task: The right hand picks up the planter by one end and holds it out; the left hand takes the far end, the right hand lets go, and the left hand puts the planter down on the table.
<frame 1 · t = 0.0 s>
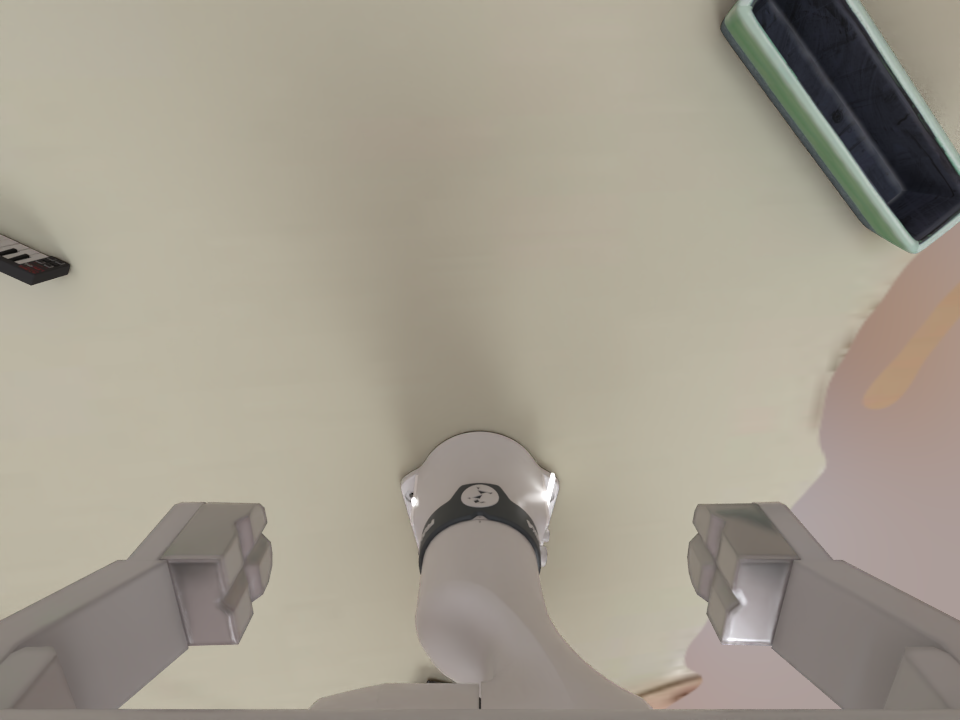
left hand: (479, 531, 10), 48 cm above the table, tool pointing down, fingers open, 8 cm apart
planter: (818, 113, 52), on the table
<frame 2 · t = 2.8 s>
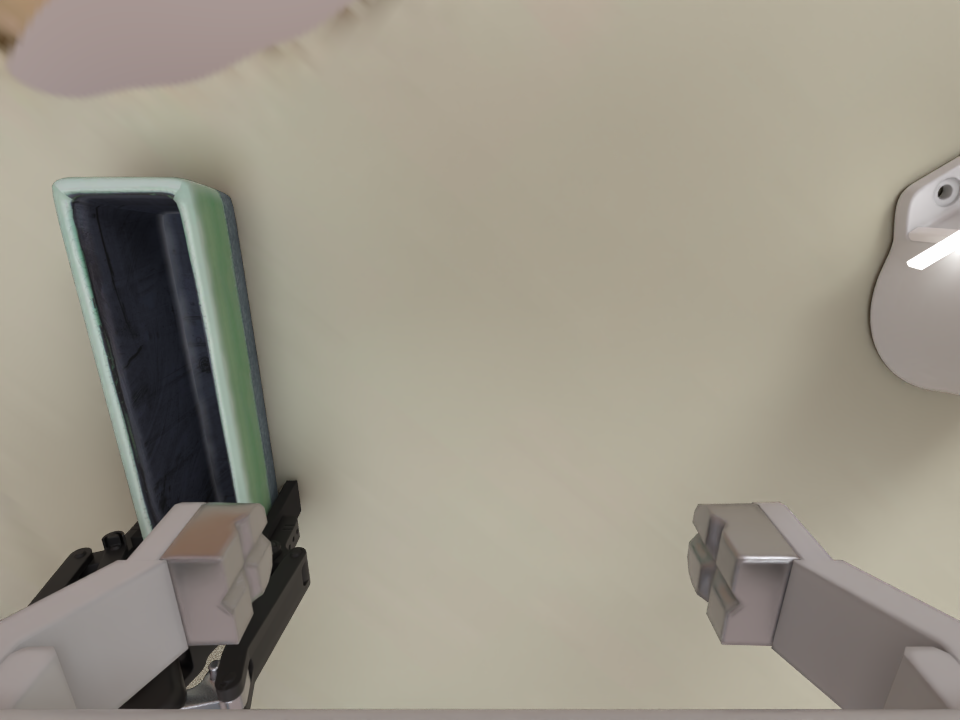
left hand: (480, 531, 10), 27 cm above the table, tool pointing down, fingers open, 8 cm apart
planter: (224, 377, 39), on the table, touching right hand
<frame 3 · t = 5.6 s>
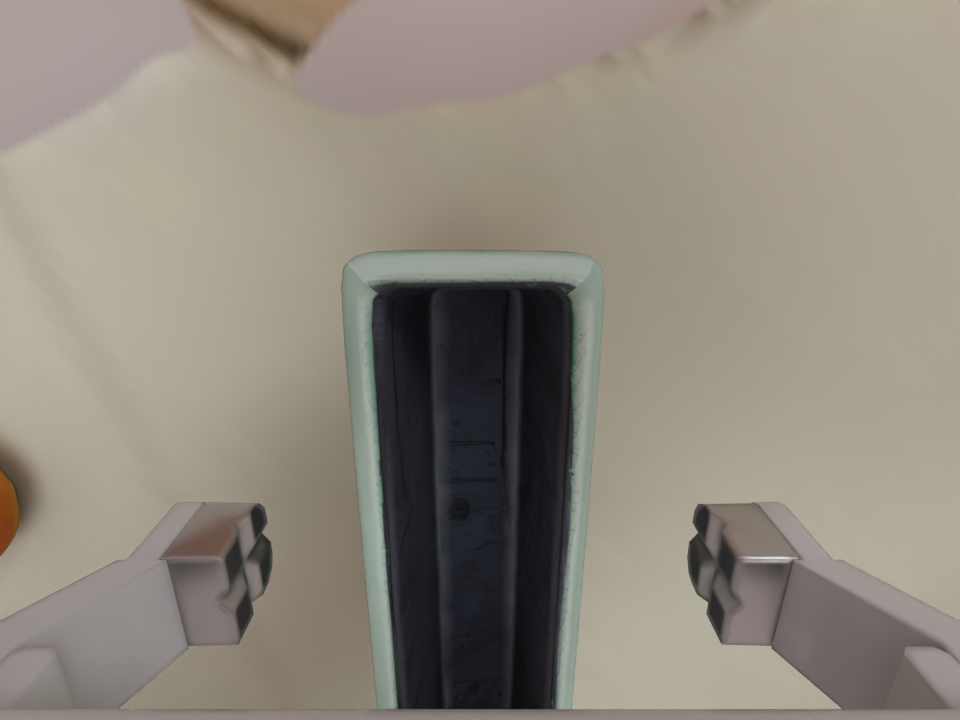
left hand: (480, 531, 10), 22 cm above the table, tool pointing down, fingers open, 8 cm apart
planter: (477, 523, 26), point 9 cm above the table, touching right hand
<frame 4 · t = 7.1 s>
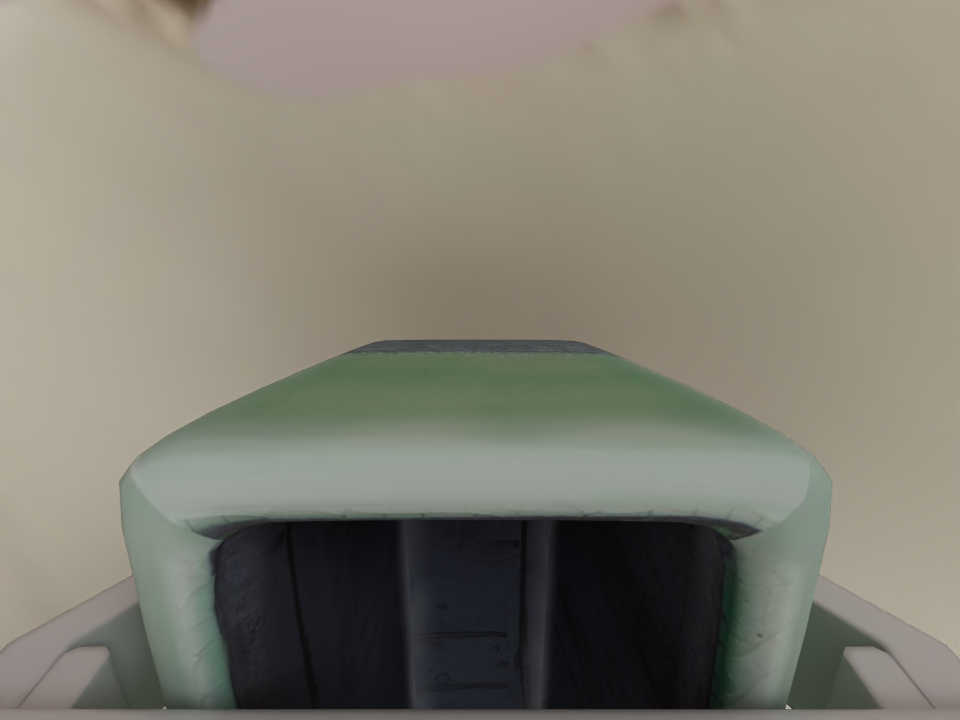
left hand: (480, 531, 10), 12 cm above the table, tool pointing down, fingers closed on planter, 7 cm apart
when the right hand's fingers open (10 cm above the table, at t = 8.3 s): planter stays where it is, held by the left hand.
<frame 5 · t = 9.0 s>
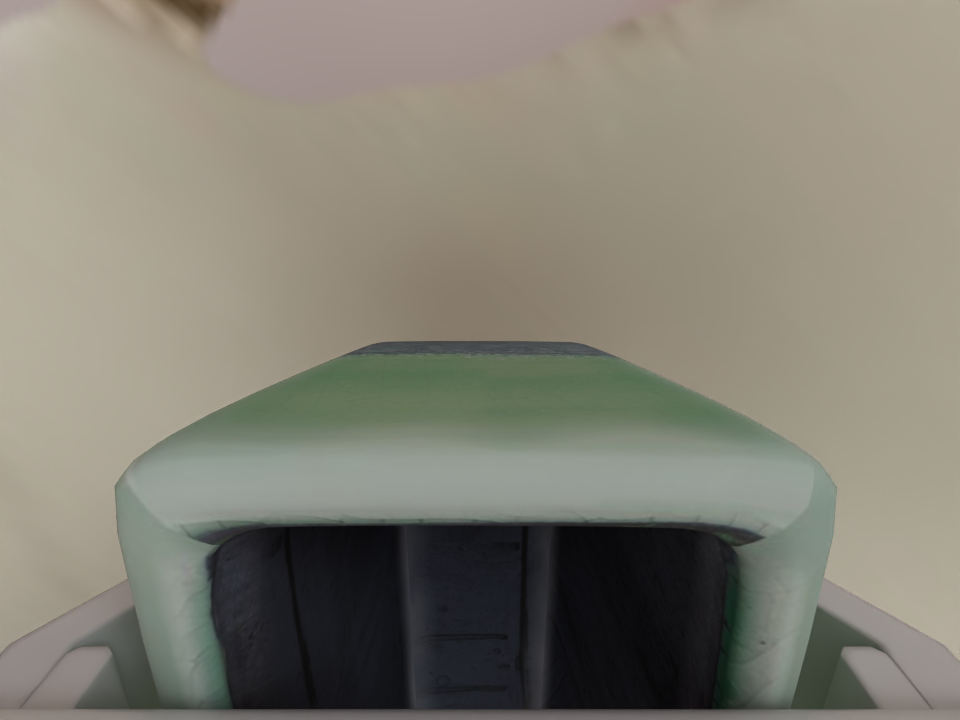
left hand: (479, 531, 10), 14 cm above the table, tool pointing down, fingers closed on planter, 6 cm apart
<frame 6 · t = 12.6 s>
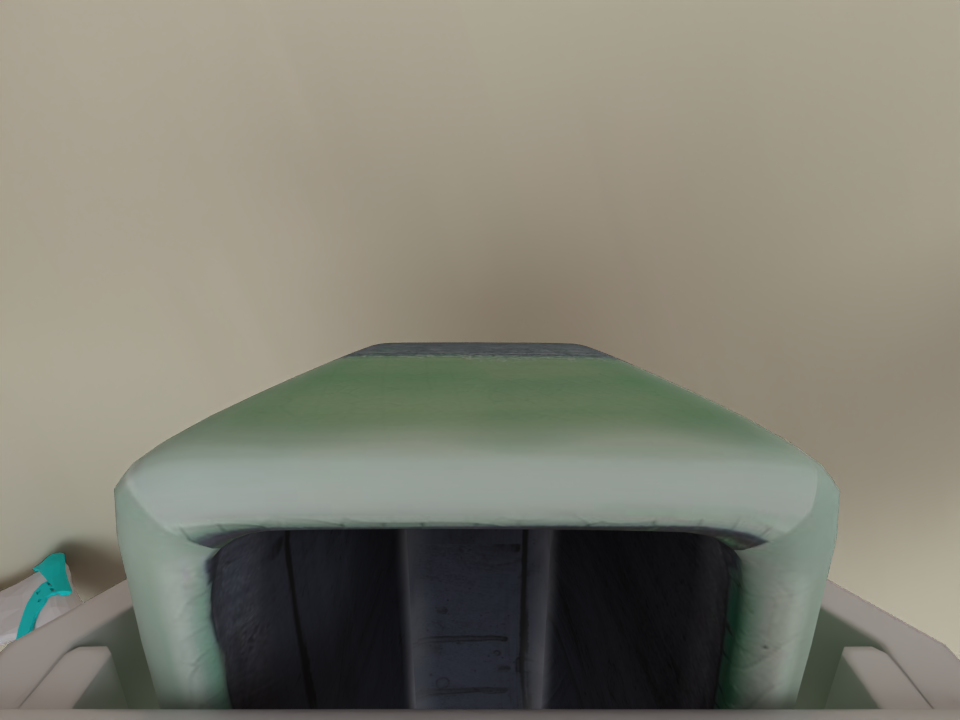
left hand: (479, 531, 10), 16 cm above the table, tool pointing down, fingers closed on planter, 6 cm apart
anatomical model: (134, 631, 33), on the table
when the left hand's fingers open (4 cm above the table, at t = 18.1 s): planter stays where it is, on the table.
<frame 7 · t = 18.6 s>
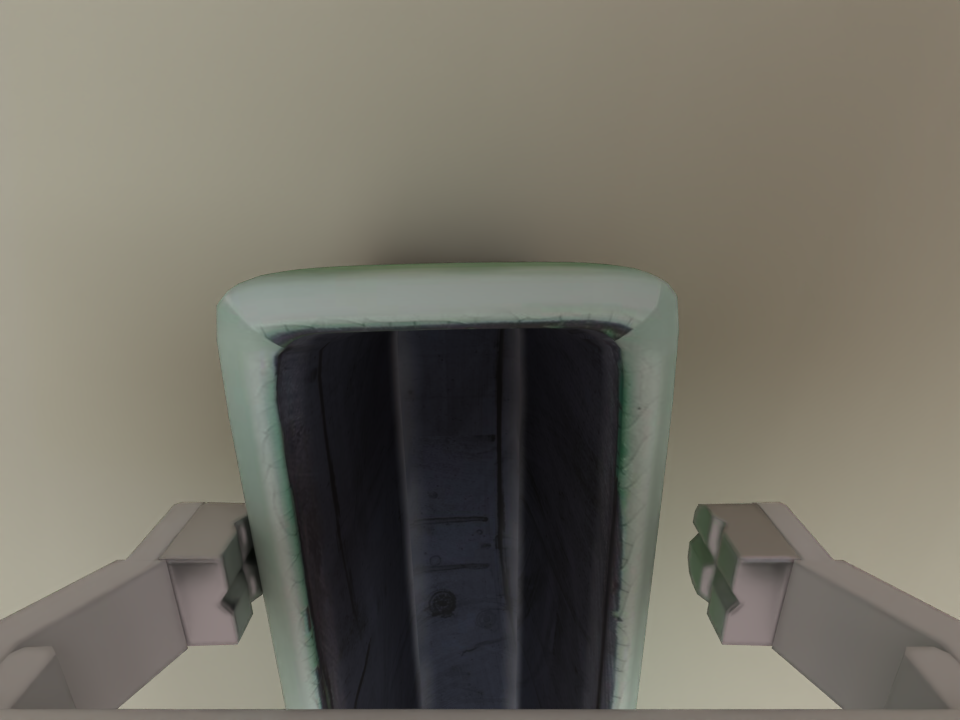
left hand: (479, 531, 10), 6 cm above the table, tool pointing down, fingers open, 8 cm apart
planter: (467, 615, 20), on the table
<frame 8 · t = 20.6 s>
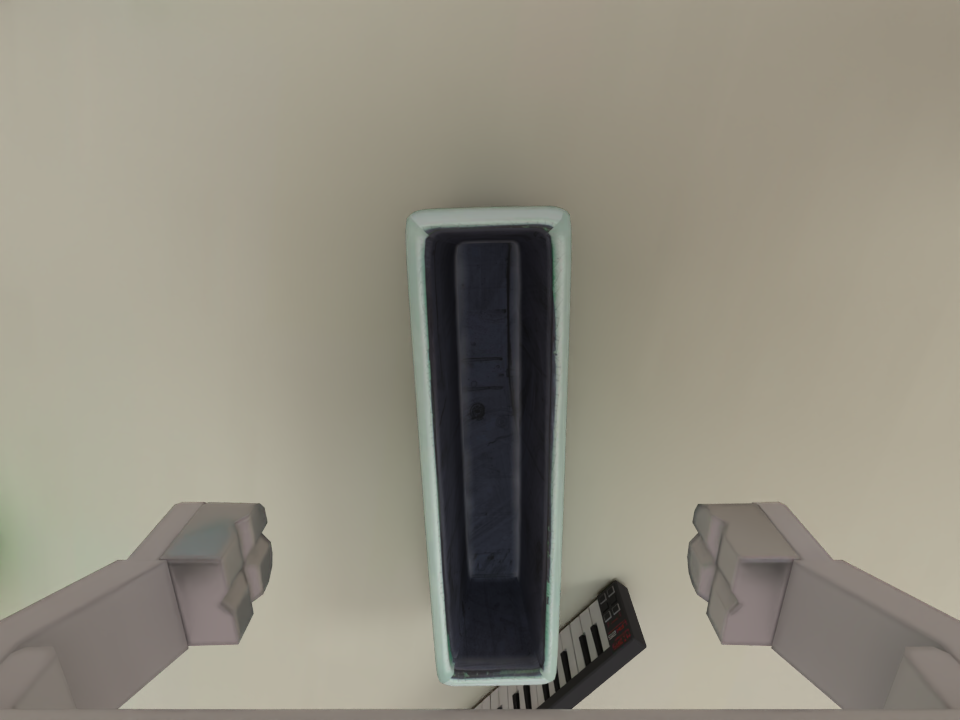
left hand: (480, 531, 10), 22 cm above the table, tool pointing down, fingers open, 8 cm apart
planter: (490, 424, 34), on the table
midi keyboard: (539, 653, 41), on the table
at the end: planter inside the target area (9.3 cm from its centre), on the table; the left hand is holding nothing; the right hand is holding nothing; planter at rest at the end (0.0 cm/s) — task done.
